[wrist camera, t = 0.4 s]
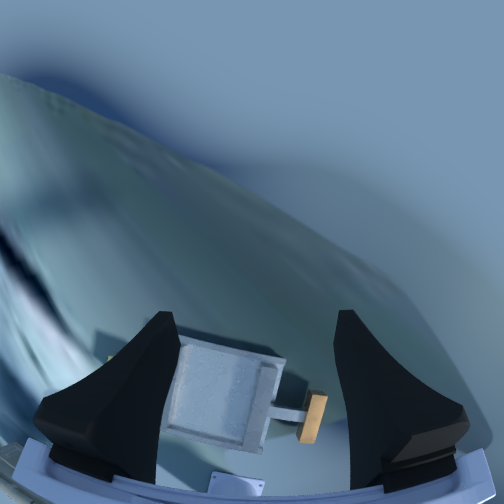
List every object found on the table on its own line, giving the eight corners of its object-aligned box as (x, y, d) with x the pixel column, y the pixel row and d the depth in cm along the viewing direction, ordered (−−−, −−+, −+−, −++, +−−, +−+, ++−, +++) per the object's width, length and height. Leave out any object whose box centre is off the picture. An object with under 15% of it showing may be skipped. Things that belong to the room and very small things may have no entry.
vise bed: (260, 447, 36) (262, 461, 32) (153, 421, 37) (143, 431, 32) (284, 356, 39) (288, 361, 35) (170, 330, 40) (161, 332, 35)
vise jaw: (304, 450, 35) (308, 459, 32) (241, 441, 35) (241, 450, 32) (326, 373, 37) (332, 378, 34) (261, 362, 37) (262, 366, 34)
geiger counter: (-26, 475, 19) (93, 555, 19) (-32, 448, 21) (90, 533, 20) (16, 455, 33) (122, 513, 32) (13, 431, 34) (123, 490, 33)
